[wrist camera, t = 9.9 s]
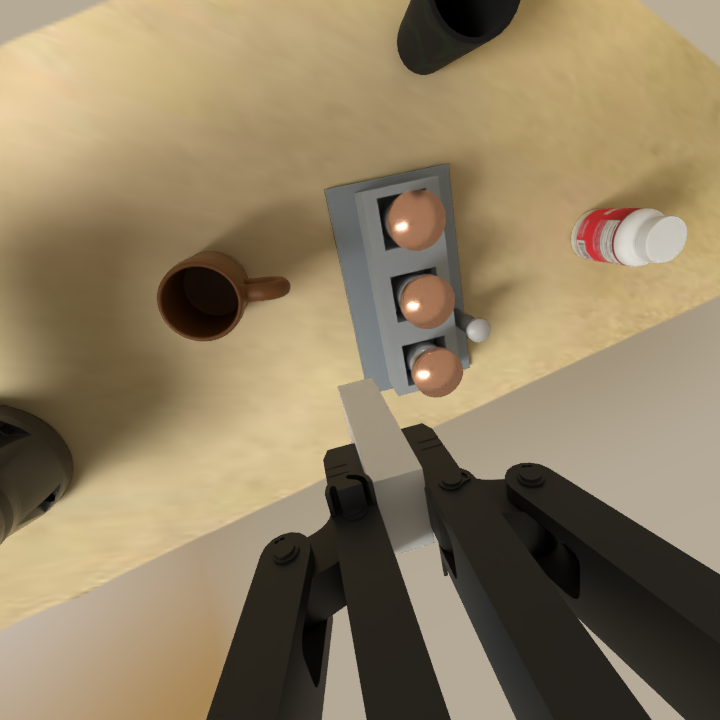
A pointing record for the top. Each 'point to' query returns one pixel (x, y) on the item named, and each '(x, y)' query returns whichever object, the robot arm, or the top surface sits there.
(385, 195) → the mount
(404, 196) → the knob
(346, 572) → the robot arm
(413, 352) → the knob
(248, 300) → the mug
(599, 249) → the pill bottle
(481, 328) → the pot post
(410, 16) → the cup
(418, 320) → the knob mid
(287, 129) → the top surface
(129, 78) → the top surface
